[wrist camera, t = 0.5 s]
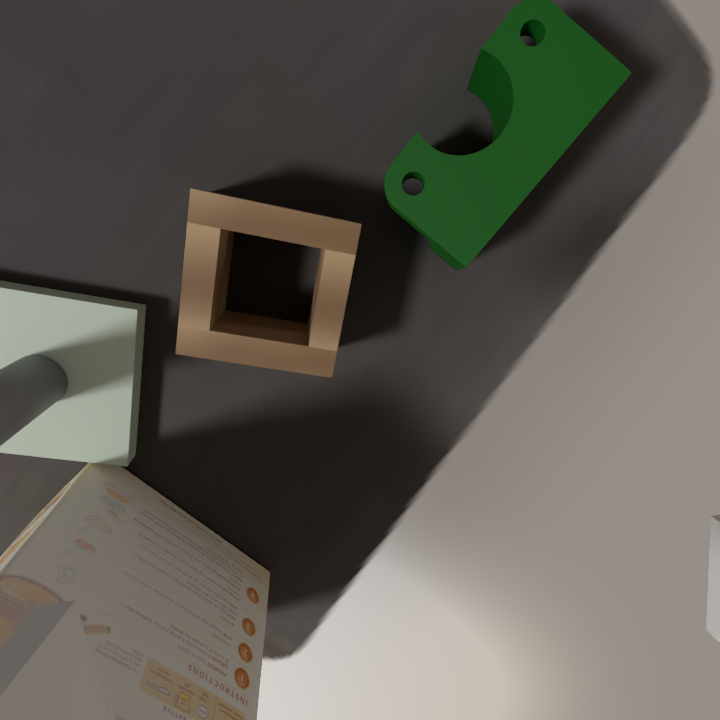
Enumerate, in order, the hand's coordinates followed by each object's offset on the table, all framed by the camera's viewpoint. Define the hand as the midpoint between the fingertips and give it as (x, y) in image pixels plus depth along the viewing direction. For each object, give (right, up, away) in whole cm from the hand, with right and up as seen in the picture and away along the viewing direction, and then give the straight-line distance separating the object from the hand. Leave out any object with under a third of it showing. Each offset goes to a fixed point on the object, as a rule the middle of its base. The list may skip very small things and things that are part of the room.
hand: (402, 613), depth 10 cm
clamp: (+5, +17, +17) cm, 25 cm away
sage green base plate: (-19, +5, +18) cm, 27 cm away
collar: (-6, +10, +18) cm, 22 cm away
